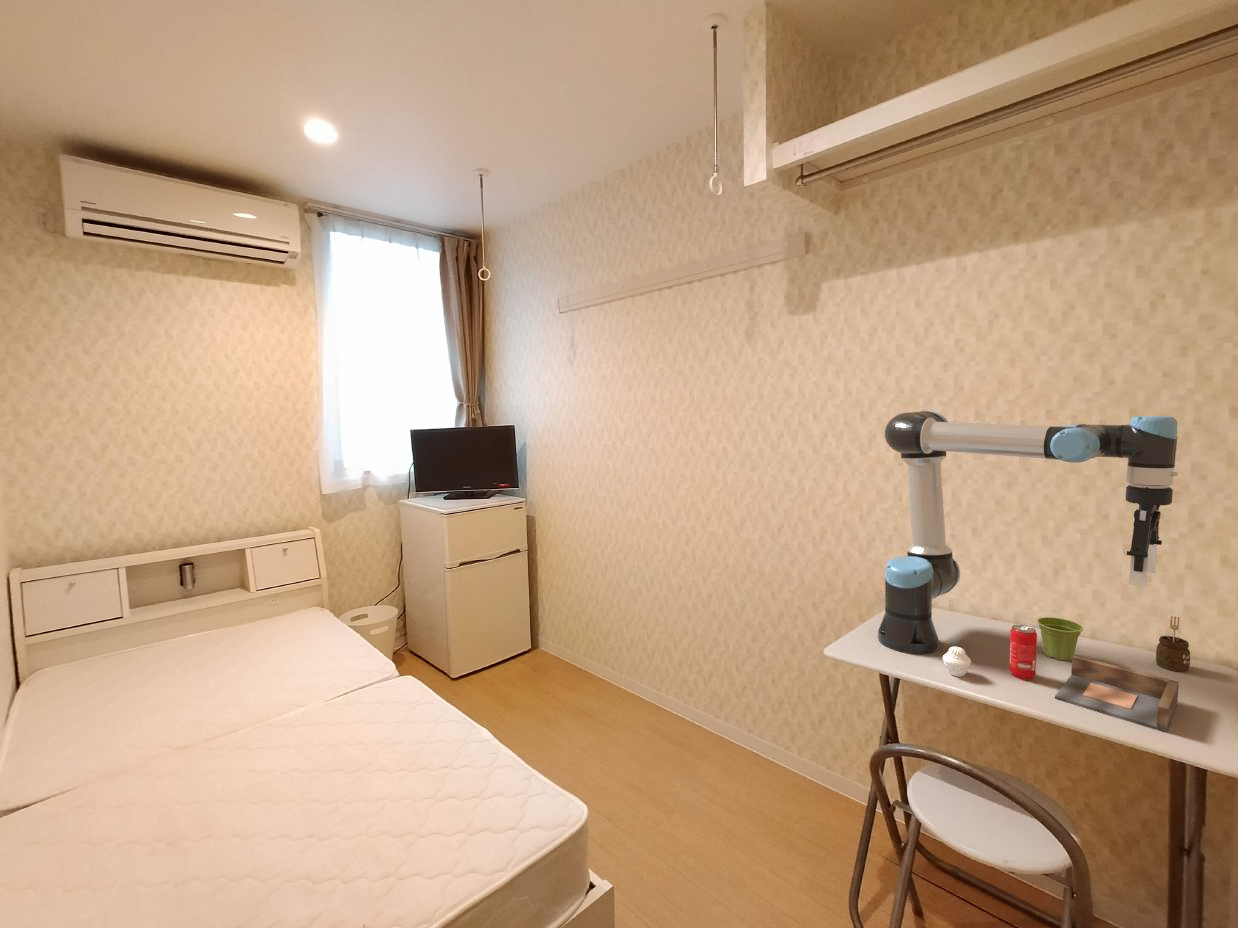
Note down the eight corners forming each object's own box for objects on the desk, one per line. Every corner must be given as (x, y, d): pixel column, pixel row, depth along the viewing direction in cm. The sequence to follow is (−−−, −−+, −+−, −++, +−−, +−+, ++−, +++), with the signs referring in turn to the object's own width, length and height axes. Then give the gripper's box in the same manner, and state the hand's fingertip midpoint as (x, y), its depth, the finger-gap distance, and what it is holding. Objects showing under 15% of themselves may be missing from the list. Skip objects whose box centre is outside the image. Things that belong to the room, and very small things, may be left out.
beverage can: (1006, 676, 135) (1008, 628, 134) (1011, 668, 138) (1013, 622, 137) (1033, 683, 131) (1035, 634, 130) (1037, 675, 135) (1038, 627, 134)
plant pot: (1090, 664, 139) (1092, 631, 138) (1047, 662, 141) (1049, 630, 140) (1068, 648, 148) (1069, 617, 147) (1028, 647, 150) (1029, 616, 149)
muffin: (955, 681, 133) (956, 653, 133) (936, 669, 139) (936, 643, 139) (977, 677, 135) (978, 650, 134) (957, 666, 141) (958, 640, 140)
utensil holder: (1155, 667, 136) (1158, 620, 135) (1155, 658, 141) (1158, 613, 140) (1189, 674, 132) (1193, 626, 131) (1188, 665, 137) (1192, 619, 135)
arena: (1054, 698, 124) (1055, 677, 124) (1072, 674, 134) (1073, 655, 134) (1166, 732, 110) (1168, 708, 110) (1177, 703, 120) (1178, 681, 120)
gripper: (1165, 494, 112) (1157, 595, 114) (1179, 480, 128) (1172, 569, 130) (1116, 490, 117) (1109, 587, 120) (1135, 478, 133) (1129, 563, 136)
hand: (1142, 578), depth 125 cm, fingers open, 13 cm apart
